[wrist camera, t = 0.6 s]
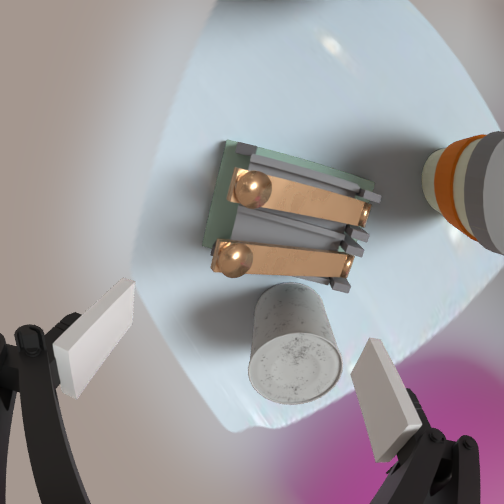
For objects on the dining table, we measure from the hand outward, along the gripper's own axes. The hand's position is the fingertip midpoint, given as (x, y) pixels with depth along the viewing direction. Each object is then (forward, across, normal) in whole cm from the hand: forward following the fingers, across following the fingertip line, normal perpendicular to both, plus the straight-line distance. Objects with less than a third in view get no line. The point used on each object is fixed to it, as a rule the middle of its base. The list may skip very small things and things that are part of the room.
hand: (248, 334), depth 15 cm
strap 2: (+13, +3, +1) cm, 13 cm away
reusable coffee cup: (+23, +23, +14) cm, 35 cm away
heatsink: (+22, +2, +3) cm, 23 cm away
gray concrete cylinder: (+22, +6, -10) cm, 25 cm away
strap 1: (+13, +3, +6) cm, 15 cm away
